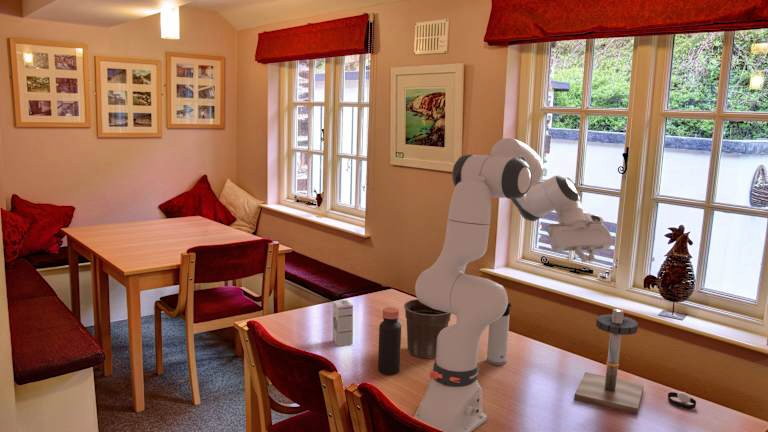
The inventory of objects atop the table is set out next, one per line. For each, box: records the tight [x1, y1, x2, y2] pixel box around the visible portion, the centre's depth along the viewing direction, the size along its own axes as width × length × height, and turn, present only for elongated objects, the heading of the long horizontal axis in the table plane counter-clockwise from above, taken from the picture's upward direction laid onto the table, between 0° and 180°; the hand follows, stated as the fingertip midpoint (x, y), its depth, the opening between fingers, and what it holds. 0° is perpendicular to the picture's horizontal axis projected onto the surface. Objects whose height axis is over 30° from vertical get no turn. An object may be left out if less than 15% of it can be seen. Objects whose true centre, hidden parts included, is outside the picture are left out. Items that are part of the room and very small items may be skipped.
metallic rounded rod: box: [605, 308, 625, 391], centre depth 184 cm, size 3×3×24 cm
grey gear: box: [595, 313, 639, 336], centre depth 182 cm, size 11×11×2 cm
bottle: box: [377, 306, 402, 376], centre depth 196 cm, size 7×7×20 cm
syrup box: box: [332, 299, 354, 347], centre depth 218 cm, size 6×6×14 cm
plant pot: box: [403, 298, 452, 359], centre depth 212 cm, size 16×16×16 cm
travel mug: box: [486, 302, 512, 366], centre depth 206 cm, size 6×7×20 cm
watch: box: [667, 391, 697, 410], centre depth 182 cm, size 8×5×4 cm, turn 44°
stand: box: [573, 371, 645, 416], centre depth 186 cm, size 17×17×2 cm
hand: (588, 261), depth 195 cm, fingers closed
